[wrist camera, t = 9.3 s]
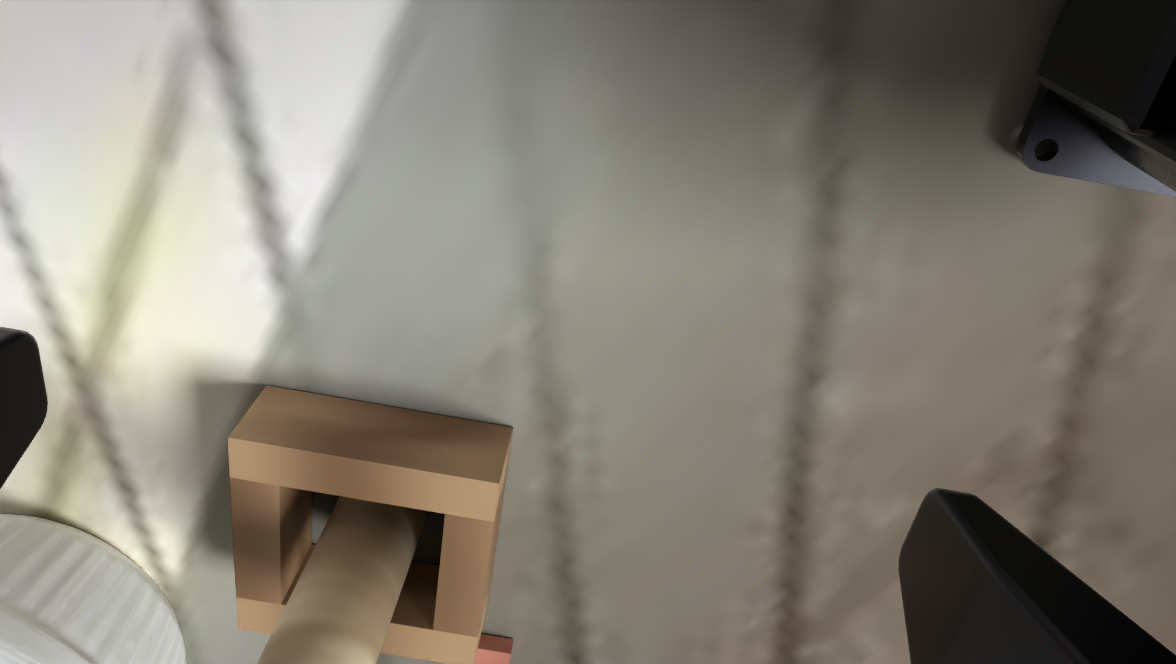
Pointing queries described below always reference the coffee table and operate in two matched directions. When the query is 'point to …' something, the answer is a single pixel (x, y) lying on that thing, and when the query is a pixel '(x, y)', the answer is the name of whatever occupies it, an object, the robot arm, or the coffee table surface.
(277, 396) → the wooden square frame
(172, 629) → the ramekin
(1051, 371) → the coffee table surface
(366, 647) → the dowel
